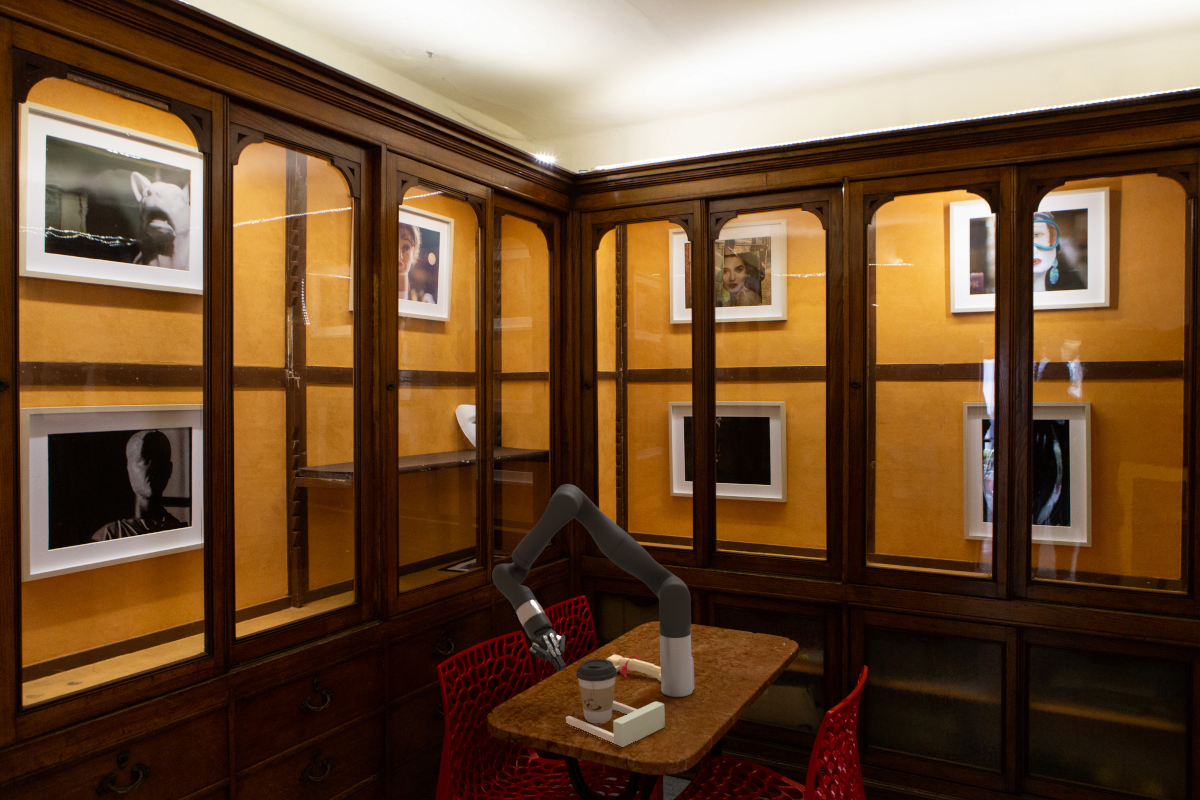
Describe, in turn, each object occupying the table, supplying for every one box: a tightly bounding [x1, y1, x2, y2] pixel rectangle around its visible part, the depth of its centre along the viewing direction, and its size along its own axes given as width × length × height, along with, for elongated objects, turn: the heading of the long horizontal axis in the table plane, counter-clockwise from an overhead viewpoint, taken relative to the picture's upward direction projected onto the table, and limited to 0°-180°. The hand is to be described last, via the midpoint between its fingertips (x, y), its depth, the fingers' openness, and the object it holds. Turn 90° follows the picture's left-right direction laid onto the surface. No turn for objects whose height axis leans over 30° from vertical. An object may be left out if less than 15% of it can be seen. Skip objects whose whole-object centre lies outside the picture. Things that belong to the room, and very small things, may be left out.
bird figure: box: [606, 654, 661, 682], centre depth 238 cm, size 10×9×25 cm
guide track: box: [565, 700, 666, 748], centre depth 202 cm, size 16×21×6 cm
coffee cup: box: [575, 658, 618, 724], centre depth 207 cm, size 11×11×15 cm
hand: (562, 669), depth 217 cm, fingers closed
